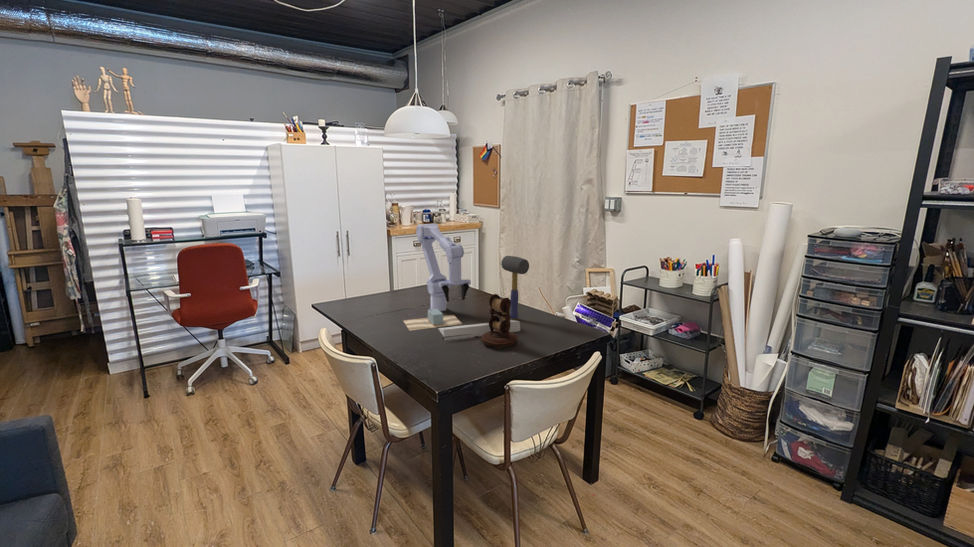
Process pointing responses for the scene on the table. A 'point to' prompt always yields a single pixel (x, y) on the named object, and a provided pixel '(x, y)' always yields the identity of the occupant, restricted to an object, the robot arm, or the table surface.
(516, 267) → the rubber mallet
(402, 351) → the table surface
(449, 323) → the birch board
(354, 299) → the table surface
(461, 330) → the decorative molding
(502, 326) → the wooden spool holder
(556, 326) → the table surface
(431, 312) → the block
